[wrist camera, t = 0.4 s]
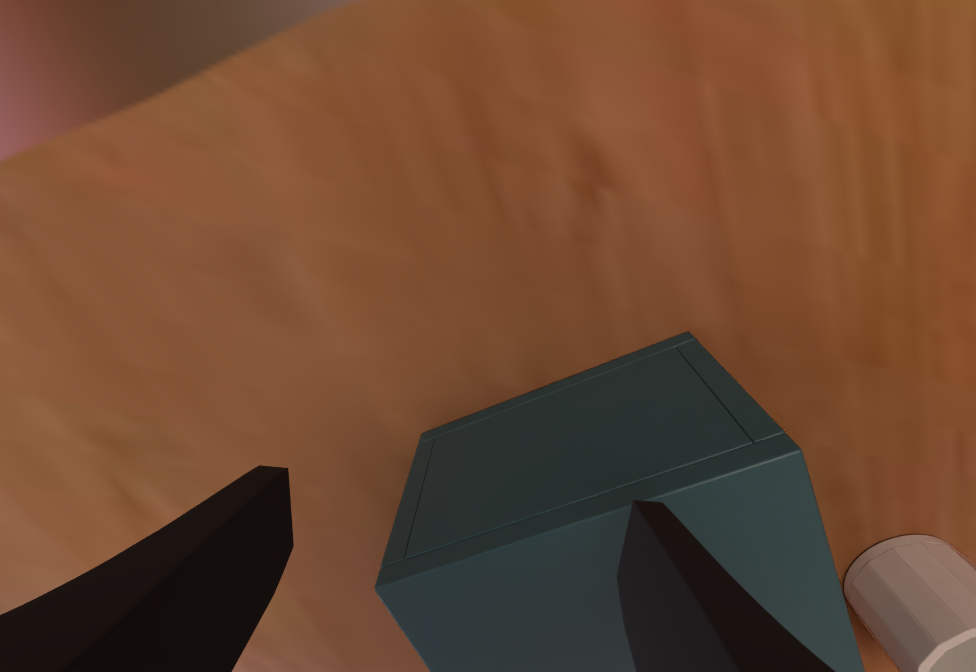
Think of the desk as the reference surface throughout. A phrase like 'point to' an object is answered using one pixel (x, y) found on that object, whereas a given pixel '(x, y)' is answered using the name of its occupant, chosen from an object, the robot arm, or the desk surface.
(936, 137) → the desk surface
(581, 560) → the cabinet
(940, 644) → the cup
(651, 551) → the robot arm
